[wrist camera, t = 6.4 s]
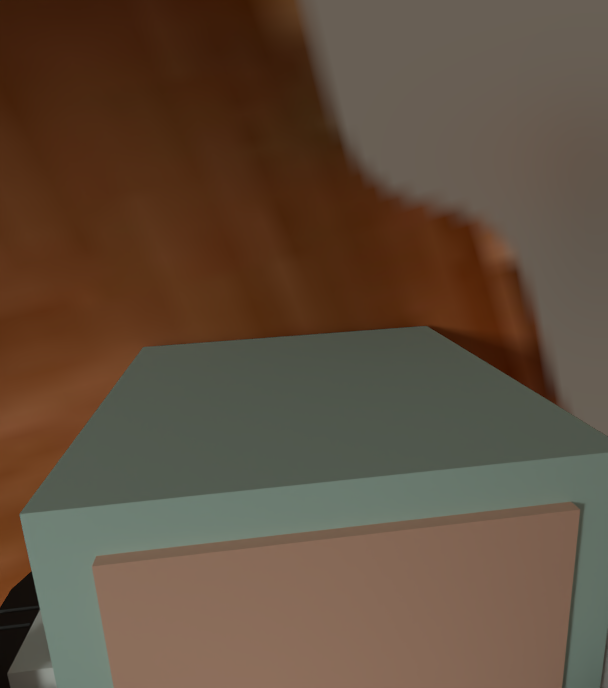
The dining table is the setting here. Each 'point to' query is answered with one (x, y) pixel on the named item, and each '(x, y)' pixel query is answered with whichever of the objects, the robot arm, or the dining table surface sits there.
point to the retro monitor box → (324, 523)
